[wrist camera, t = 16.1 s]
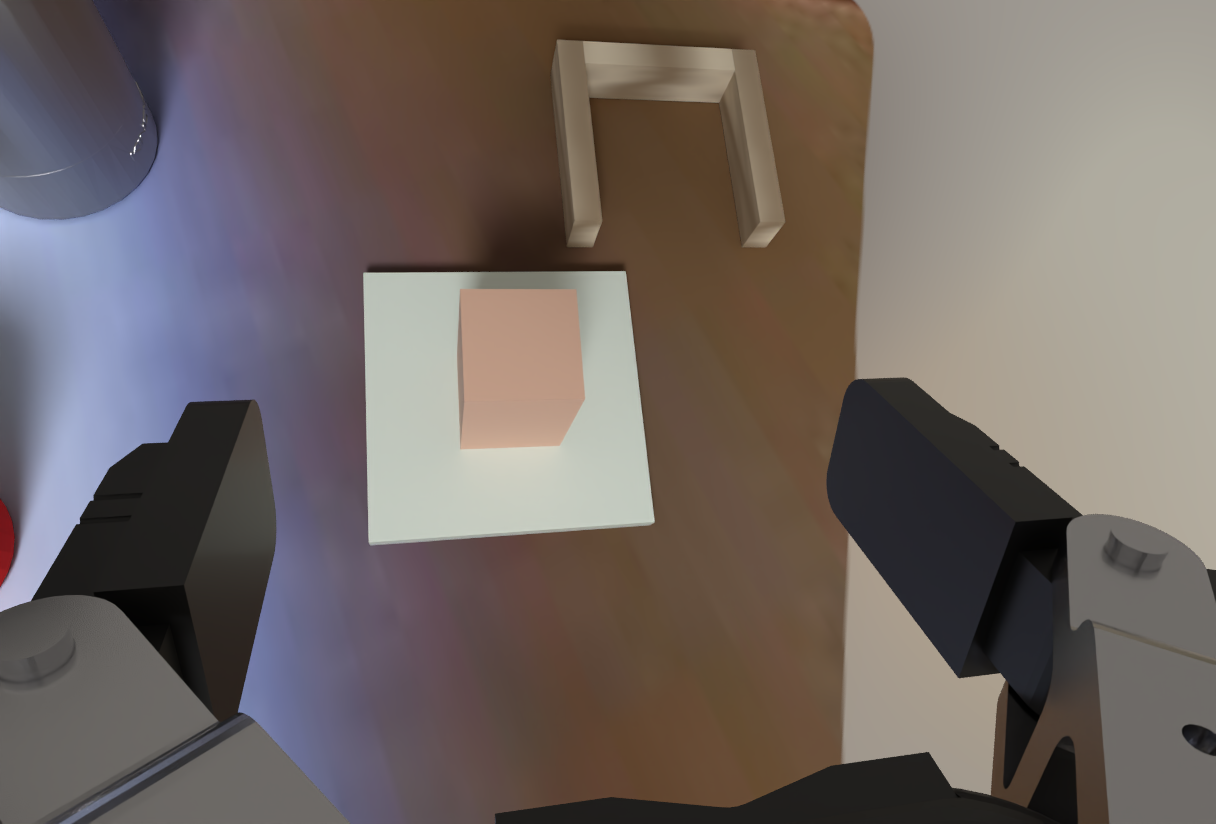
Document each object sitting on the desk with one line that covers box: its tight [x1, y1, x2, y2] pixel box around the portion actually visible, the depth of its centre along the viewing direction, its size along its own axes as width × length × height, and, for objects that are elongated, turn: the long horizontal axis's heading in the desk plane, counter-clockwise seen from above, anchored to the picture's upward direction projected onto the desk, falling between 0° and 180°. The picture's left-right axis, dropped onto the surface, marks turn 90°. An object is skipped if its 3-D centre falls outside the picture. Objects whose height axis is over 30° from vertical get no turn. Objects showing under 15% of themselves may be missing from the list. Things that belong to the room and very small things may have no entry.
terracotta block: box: [457, 289, 585, 449], centre depth 39 cm, size 5×5×8 cm
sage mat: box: [363, 271, 654, 545], centre depth 43 cm, size 14×14×1 cm
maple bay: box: [550, 40, 785, 247], centre depth 48 cm, size 12×12×3 cm
